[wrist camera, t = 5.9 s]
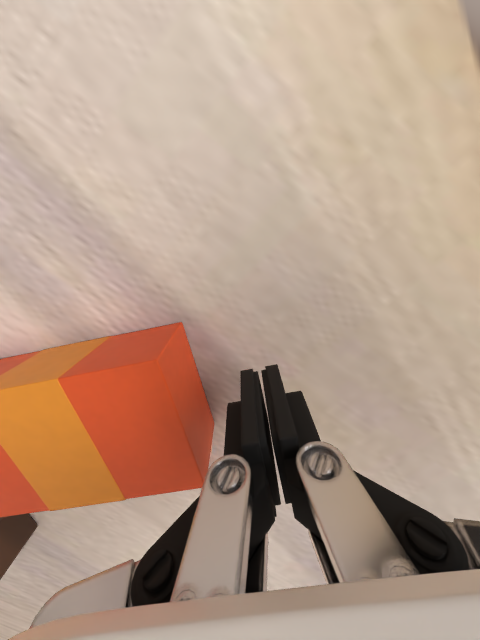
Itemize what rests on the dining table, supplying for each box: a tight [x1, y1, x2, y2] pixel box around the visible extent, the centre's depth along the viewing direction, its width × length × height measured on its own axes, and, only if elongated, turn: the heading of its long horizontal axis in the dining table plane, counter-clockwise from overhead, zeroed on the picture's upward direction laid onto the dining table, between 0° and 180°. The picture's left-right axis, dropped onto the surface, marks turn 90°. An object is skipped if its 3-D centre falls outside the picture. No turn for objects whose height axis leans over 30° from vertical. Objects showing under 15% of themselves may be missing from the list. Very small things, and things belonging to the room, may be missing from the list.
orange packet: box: [0, 322, 214, 517], centre depth 12 cm, size 12×7×4 cm, turn 102°
